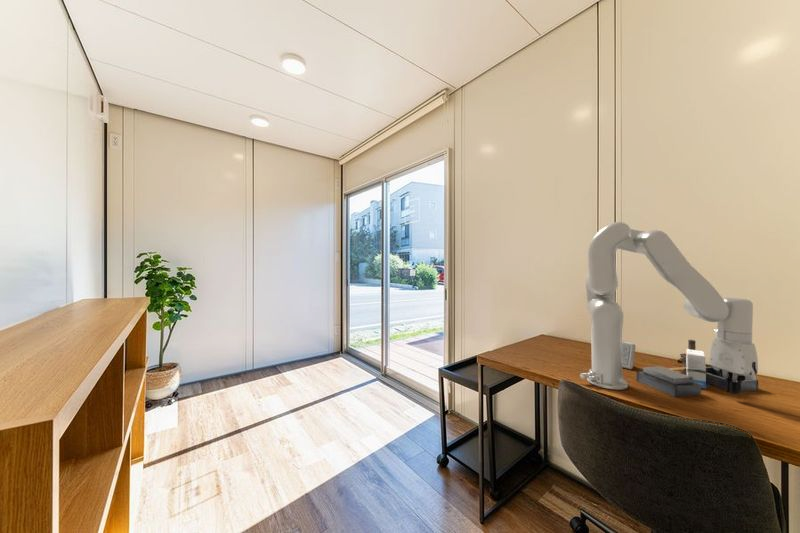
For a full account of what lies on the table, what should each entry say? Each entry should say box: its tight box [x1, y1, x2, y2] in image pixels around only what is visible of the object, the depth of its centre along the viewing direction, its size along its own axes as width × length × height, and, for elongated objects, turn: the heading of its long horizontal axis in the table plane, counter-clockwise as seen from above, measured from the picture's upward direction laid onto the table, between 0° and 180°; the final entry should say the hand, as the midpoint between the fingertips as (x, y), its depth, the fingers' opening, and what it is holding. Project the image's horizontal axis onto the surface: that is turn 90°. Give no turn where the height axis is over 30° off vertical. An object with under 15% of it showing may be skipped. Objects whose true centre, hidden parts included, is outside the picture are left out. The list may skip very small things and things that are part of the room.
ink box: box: [685, 348, 707, 390], centre depth 110 cm, size 9×5×12 cm, turn 137°
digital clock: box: [590, 340, 636, 370], centre depth 132 cm, size 16×9×11 cm, turn 22°
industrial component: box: [679, 339, 696, 367], centre depth 124 cm, size 9×7×12 cm
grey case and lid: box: [636, 365, 759, 398], centre depth 108 cm, size 33×14×6 cm, turn 97°
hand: (732, 392), depth 97 cm, fingers closed
